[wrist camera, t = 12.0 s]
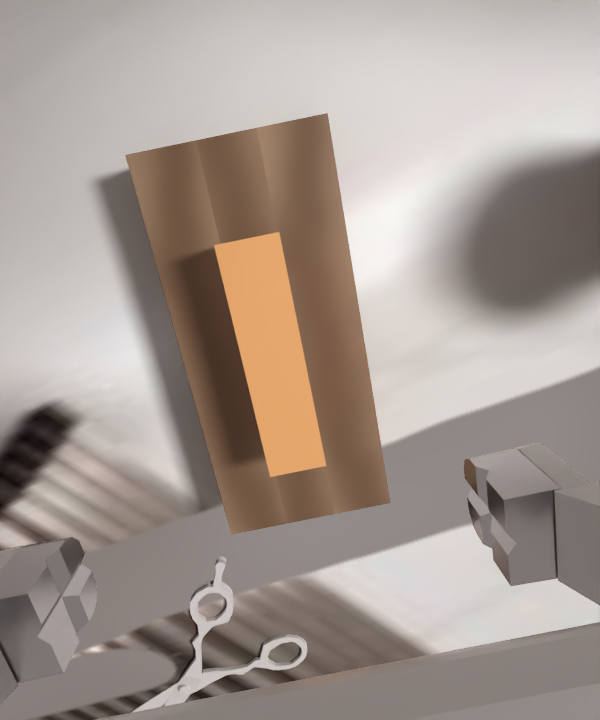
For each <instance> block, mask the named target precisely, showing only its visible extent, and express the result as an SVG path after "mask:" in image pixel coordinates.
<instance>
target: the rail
mask: <svg viewBox="0 0 600 720" xmlns="http://www.w3.org/2000/svg"><path fill="white" fill-rule="evenodd" d="M125 156H126V159H127V163H128V166H129V170H130V173H131V177H132V181H133V184H134V188H135V191H136V195H137V198H138V202H139V206H140V209H141V213H142V216H143V220H144V223H145V227H146V231H147V234H148V238H149V241H150V245H151V248H152V252H153V256H154V259H155V263H156V266H157V270H158V273H159V277H160V281H161V284H162V288H163V291H164V295H165V298H166V302H167V305H168V309H169V313H170V316H171V320H172V323H173V327H174V330H175V334H176V338H177V341H178V345H179V348H180V352H181V355H182V359H183V363H184V366H185V370H186V373H187V377H188V380H189V384H190V388H191V391H192V395H193V398H194V402H195V405H196V409H197V413H198V416H199V420H200V423H201V427H202V430H203V434H204V437H205V441H206V445H207V448H208V452H209V455H210V459H211V462H212V466H213V470H214V473H215V477H216V480H217V484H218V487H219V491H220V495H221V498H222V502H223V505H224V509H225V512H226V516H227V519H228V523H229V527H230V530H231V534H235V533H241V532H246V531H251V530H256V529H261V528H266V527H270V526H276V525H281V524H286V523H291V522H296V521H301V520H306V519H311V518H316V517H321V516H326V515H331V514H336V513H341V512H346V511H351V510H357V509H361V508H367V507H371V506H376V505H381V504H387V503H390V498H389V492H388V485H387V479H386V473H385V467H384V461H383V454H382V448H381V442H380V436H379V430H378V424H377V417H376V411H375V405H374V399H373V393H372V386H371V380H370V374H369V368H368V362H367V355H366V349H365V343H364V337H363V331H362V324H361V318H360V312H359V306H358V300H357V293H356V287H355V281H354V275H353V269H352V263H351V256H350V250H349V244H348V238H347V232H346V225H345V219H344V213H343V207H342V201H341V194H340V188H339V182H338V176H337V170H336V163H335V157H334V151H333V145H332V139H331V132H330V126H329V120H328V114H322V115H317V116H312V117H307V118H302V119H298V120H293V121H288V122H283V123H278V124H273V125H269V126H264V127H259V128H254V129H249V130H244V131H240V132H235V133H230V134H225V135H220V136H216V137H211V138H206V139H201V140H196V141H191V142H187V143H182V144H177V145H172V146H167V147H162V148H158V149H153V150H148V151H143V152H138V153H133V154H129V155H125ZM276 232H279V233H280V238H281V243H282V248H283V253H284V258H285V263H286V268H287V273H288V278H289V283H290V288H291V293H292V298H293V303H294V308H295V313H296V318H297V323H298V328H299V333H300V338H301V343H302V347H303V352H304V357H305V362H306V367H307V372H308V377H309V382H310V387H311V392H312V397H313V402H314V407H315V412H316V417H317V422H318V427H319V432H320V437H321V442H322V447H323V452H324V457H325V462H326V466H323V467H318V468H313V469H308V470H303V471H298V472H293V473H288V474H283V475H278V476H273V477H270V474H269V470H268V466H267V462H266V458H265V454H264V449H263V445H262V441H261V437H260V433H259V429H258V425H257V421H256V416H255V412H254V408H253V404H252V400H251V396H250V392H249V388H248V383H247V379H246V375H245V371H244V367H243V363H242V359H241V355H240V350H239V346H238V342H237V338H236V334H235V330H234V326H233V322H232V317H231V313H230V309H229V305H228V301H227V297H226V293H225V289H224V284H223V280H222V276H221V272H220V268H219V264H218V260H217V256H216V251H215V247H214V245H218V244H223V243H228V242H232V241H237V240H242V239H247V238H252V237H257V236H262V235H267V234H271V233H276Z"/></svg>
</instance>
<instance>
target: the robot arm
mask: <svg viewBox="0 0 600 720" xmlns="http://www.w3.org/2000/svg"><path fill="white" fill-rule="evenodd" d="M464 473H465V479H466V480H467V482H468V483H469V484H470V486H471V487H472V490H471V491H470V493H469V495H468V497H467V500H468V508H469V513H470V516H471V520H472V523H473V526H474V528H475V531H476V533H477V535H478V536H479V538H480V540H481V541H482V543H483V544H484V545H486V546H488V547H490V548H492V549H493V559H494V561H495V563H496V564H497V566H498V567H499V569H500V570H501V572H502V573H503V575H504V576H505V578H506V579H507V581H508V582H509V584H510V585H511V586H514V585H520V584H526V583H532V582H538V581H544V580H550V579H556V578H558V581H560V582H562V583H563V584H565V585H567V586H568V587H570V588H572V589H573V590H575V591H577V592H578V593H580V594H582V595H583V596H585V597H587V598H588V599H590V600H592V601H593V602H595V603H597V604H598V605H600V482H595V483H591V482H589V481H588V480H587V479H585V478H584V477H583V476H582V475H581V474H579V473H578V472H577V471H575V470H574V469H573V468H572V467H570V466H569V465H568V464H567V463H565V462H564V461H563V460H561V459H560V458H559V457H558V456H557V455H555V454H554V453H553V452H552V451H550V450H549V449H548V448H547V447H545V446H544V445H543V444H539V443H535V444H531V445H527V446H523V447H518V448H514V449H510V450H506V451H501V452H497V453H492V454H488V455H484V456H479V457H474V458H470V459H466V460H465V462H464ZM84 555H85V553H84V551H83V549H82V546H81V544H80V542H79V540H77V539H75V538H73V537H70V538H64V539H59V540H53V541H47V542H42V543H36V544H30V545H26V546H19V547H14V548H9V549H5V550H2V551H0V704H1V703H2V702H3V701H4V700H5V699H6V698H7V697H8V696H9V695H10V694H11V693H12V692H13V691H14V690H15V689H16V688H17V686H18V683H22V682H26V681H31V680H35V679H40V678H44V677H49V676H53V675H57V674H62V673H64V671H65V669H66V667H67V665H68V663H69V661H70V659H71V657H72V655H73V653H74V651H75V649H76V647H77V645H78V643H79V638H78V635H77V632H78V631H79V630H80V629H81V628H82V627H84V625H86V624H87V623H88V622H89V621H90V619H91V616H92V614H93V612H94V610H95V606H96V599H97V588H96V581H95V579H94V576H93V573H92V571H90V570H89V569H88V568H86V567H85V566H83V565H82V564H81V563H82V560H83V557H84ZM96 720H600V622H598V623H593V624H588V625H583V626H578V627H573V628H568V629H562V630H557V631H552V632H547V633H542V634H536V635H531V636H526V637H521V638H516V639H511V640H505V641H500V642H495V643H490V644H485V645H479V646H474V647H469V648H464V649H459V650H453V651H448V652H443V653H438V654H433V655H427V656H422V657H417V658H412V659H407V660H401V661H396V662H391V663H386V664H381V665H375V666H370V667H365V668H360V669H355V670H350V671H344V672H339V673H334V674H329V675H324V676H318V677H313V678H308V679H303V680H298V681H293V682H288V683H282V684H277V685H272V686H267V687H262V688H257V689H252V690H247V691H241V692H236V693H231V694H226V695H221V696H216V697H211V698H205V699H200V700H195V701H190V702H185V703H180V704H174V705H169V706H164V707H159V708H154V709H148V710H143V711H138V712H133V713H128V714H122V715H117V716H112V717H107V718H102V719H96Z"/></svg>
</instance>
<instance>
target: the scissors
mask: <svg viewBox="0 0 600 720" xmlns="http://www.w3.org/2000/svg"><path fill="white" fill-rule="evenodd" d="M226 560H227V559H226V558H225V557H223V556H219V557H218V558H217V560H216V564H215V568H216V573H215V578H214V581H207V582H206V583H204V584H202V585H200V586H199V587H198V588H197V589H196V590H195V592H194V593H193V595H192V597H191V600H190V614H191V616H192V618H193V620H194V621H195V622H196V624H197V625H198V634H197V636H196V637H195V638H194V639H193V642H192V644H193V646H194V648H195V650H196V657H195V658H194V660H193V661H192V662H191V664H190V665H189V667H188V668H187V669H186V671H185V672H184V674H183V675H182V677H181V678H180V680H179V681H178V682H177V683H176V684H174V685H172V686H171V687H169V688H167V689H166V690H164V691H163V692H161V693H159V694H158V695H156V696H154V697H153V698H151V699H150V700H148V701H146V702H145V703H143V704H142V705H140V706H139V707H137V708H136V709H134V710H133V711H132V712H130V713H133V712H138V711H143V710H148V709H154V708H159V707H161V706H162V705H164V704H165V705H164V706H169V705H174V704H180V703H184V702H185V700H186V699H187V698H188V697H189V695H190V694H191V693H194V692H196V691H198V690H200V689H201V688H203V687H205V686H206V685H208V684H210V683H211V682H214V681H216V680H218V679H220V678H222V677H224V676H225V675H229V674H241V675H243V674H244V673H246V672H247V671H249V670H250V669H252V668H253V667H260V668H268V669H272V670H283V669H290V668H292V667H295V666H297V665H298V664H299V663H300V662H302V661H303V660H304V658H305V657H306V654H307V643H306V641H305V640H304V639H303V638H301V637H299V636H298V635H290V634H285V635H281V636H277V637H274V638H272V639H270V640H268V641H266V642H264V644H263V647H262V651H261V655H260V657H257V658H254V659H253V660H252V661H250V662H249V663H248V664H244V665H239V666H233V667H226V668H210V669H204V670H202V652H201V642H202V639H203V636H204V635H205V634H206V633H207V632H208V631H209V630H210V629H211V628H212V627H213V626H216V625H219V624H222V623H226V622H228V621H229V619H230V617H231V615H232V613H233V597H232V596H233V592H232V590H231V588H230V587H229V586H228V585H227V584H225V583H224V582H222V573H223V571H224V568H225V565H226ZM207 593H220V594H221V595H222V596H223V597H224V598H225V599H226V601H227V606H226V608H225V609H224V611H223V612H222V613H221V614H219V615H218V616H217V617H212V618H206V617H204V616H203V615H202V614H200V613H199V612H198V609H197V607H198V602H199V600H200V599H201V598H202V597H203V596H205V595H206V594H207ZM286 642H295V643H296V644H297V645H299V646H300V647H301V649H302V651H301V653H300V655H299V656H298V657H297V658H295V659H294V660H293V661H292V662H285V663H275V662H273V661H272V660H270V659H269V658H268V654H269V651H270V650H272V649H273V648H275V647H276V646H278V645H279V644H281V643H286Z"/></svg>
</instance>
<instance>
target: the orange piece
mask: <svg viewBox="0 0 600 720" xmlns="http://www.w3.org/2000/svg"><path fill="white" fill-rule="evenodd" d="M214 247H215V251H216V256H217V260H218V264H219V268H220V272H221V276H222V280H223V284H224V289H225V293H226V297H227V301H228V305H229V309H230V313H231V317H232V322H233V326H234V330H235V334H236V338H237V342H238V346H239V350H240V355H241V359H242V363H243V367H244V371H245V375H246V379H247V383H248V388H249V392H250V396H251V400H252V404H253V408H254V412H255V416H256V421H257V425H258V429H259V433H260V437H261V441H262V445H263V449H264V454H265V458H266V462H267V466H268V470H269V474H270V477H273V476H278V475H283V474H288V473H293V472H298V471H303V470H308V469H313V468H318V467H323V466H326V462H325V457H324V452H323V447H322V442H321V437H320V432H319V427H318V422H317V417H316V412H315V407H314V402H313V397H312V392H311V387H310V382H309V377H308V372H307V367H306V362H305V357H304V352H303V347H302V343H301V338H300V333H299V328H298V323H297V318H296V313H295V308H294V303H293V298H292V293H291V288H290V283H289V278H288V273H287V268H286V263H285V258H284V253H283V248H282V243H281V238H280V233H279V232H276V233H271V234H267V235H262V236H257V237H252V238H247V239H242V240H237V241H232V242H228V243H223V244H218V245H214Z"/></svg>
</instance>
